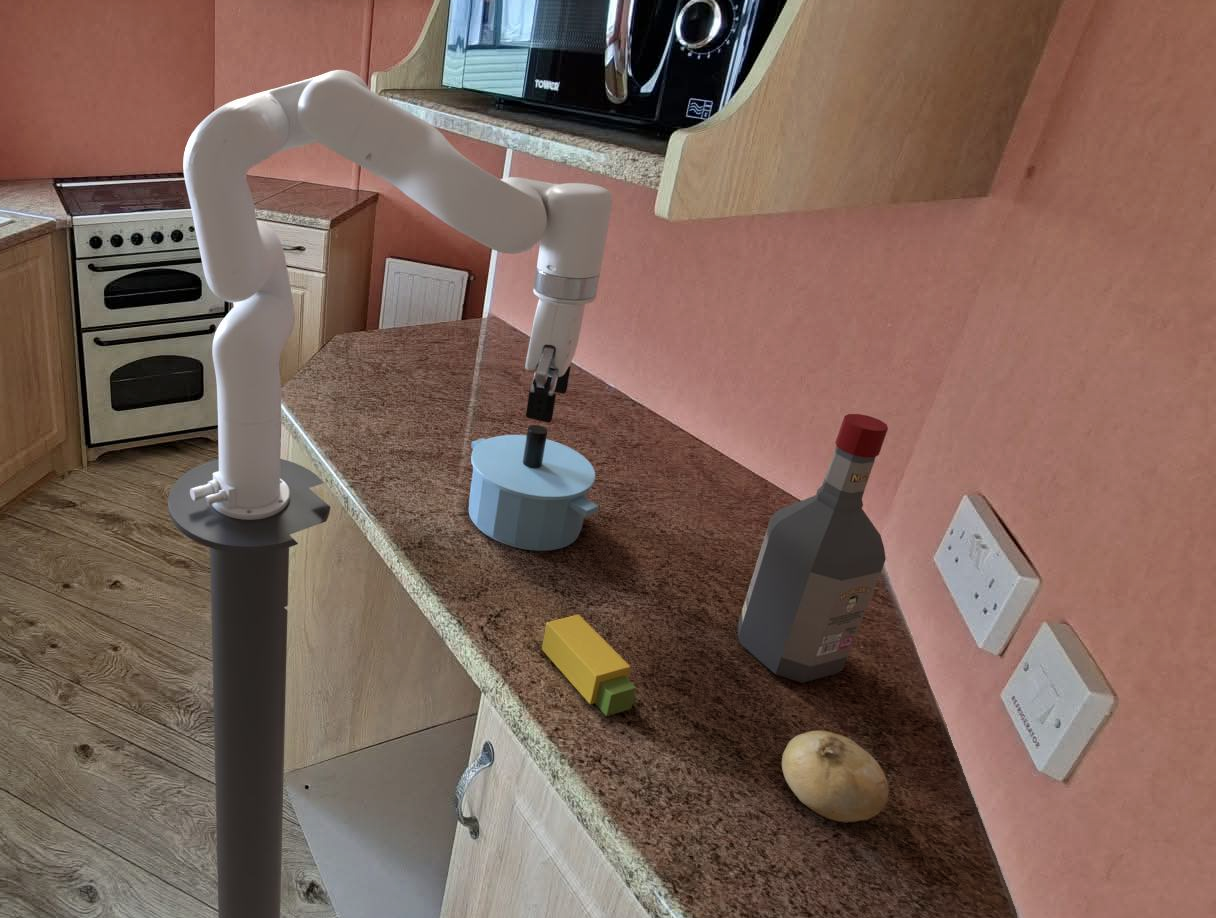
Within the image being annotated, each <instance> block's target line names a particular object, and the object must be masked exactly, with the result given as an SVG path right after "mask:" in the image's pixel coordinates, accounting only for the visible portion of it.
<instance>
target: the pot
mask: <svg viewBox="0 0 1216 918" xmlns="http://www.w3.org/2000/svg"><path fill="white" fill-rule="evenodd" d="M484 440H486V438H484V437H482V438H479V439H476V440H473V441H471V445H470V447H471V448H472V450H473V449H474V448H475V447H476V445H478V444H479V443H480V442H482V441H484ZM589 494H590V490H589V491H587V492H586V493H585V494H583V495H581V496H578V497H575V498H571V499H565V500H537V499H531V498H525V497H521V496H517V495H514V494H511V493H508V492H506V491H503V490H501V489H499V488H497V487H495V486H493V485H491V484H489V483H488V482H487V481H485V480H484V479H483V478H481V477H480V476H479V475H478V474H477V472H476V471H475V469H474V468H473V467H472V475H471V484H470V491H469V498H468V514H469V518H470V520H471V521H472V523H473V524H474V525H475V527H476V528H477V529H478V530H479V531H481V533H483V534H485V535H486V536H488V537H489V538H491V539H492V540H495V541H497V542H499V543H501V544H503V545H506V546H509V547H512V548H516V549H522V550H527V551H534V552H535V551H536V552H537V551H539V552H543V551H544V552H547V551H556V550H559V549H563V548H565V547H567V546H569V545H571V544H573V543H574V542H576V540H577V539H578V538H579V535H580V533H581V531H582V529H583V524H584V519H585V518H588V517H590V516H592V515H594V514H597V513H598V512H599V507H600V506H599V505H598V504H596V503H595V502H593V501H591V500H590V499H589Z"/></svg>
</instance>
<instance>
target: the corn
mask: <svg viewBox="0 0 1216 918" xmlns="http://www.w3.org/2000/svg"><path fill="white" fill-rule="evenodd" d="M541 650H542V652H543V653H544V654H545V655H546V656H547V657H548V658H549V660H550V661H551V662H552V663H553V664H554V665H555V666H556V668H558V670H559V671H560V672H561V673H562V674H563V676H564V677H565V678H566V679H567V680H568V681H569V682H570V683H571V685H572V686H573V688H575V689H576V690H577V692H579V694H580V695H581V696H582V698H584V699H585V700H586V702H587V703H588V705H593V704H595V705H596V706H597V707H598V709H599V710H600V712H602V713H603V714H604V716H605V717H609V716H612V715H616V714H618V713H619V714H620V713H622V712H625V711H626V712H627V711H628V710H631V709H632V707H633V703H634V701H635V695H636V691H637V687H636V686H635V685H634V684H633V683H632V682H631V680H629V674H630V671H631V665H630V664H629V663H628V662H627V661H626V660H624V658H622V656H621V655H620V654H619V653H618V652H617V651H616V650H615V649H613V647H612V646H611V645H610V644H609V642H607V640H605V639H604V638H603V637H602V636H601V635H600V634H599V633H598V632H597V630H595V629H594V628H593V627H592V626H591V625H590V624H589V623H588V622H587V621H586V619H584V618H583V617H582V616H581V615H580V614H579V613H578V614H574V615H571V616H567V617H561V618H559V619H553V620H551V621H547V622H546V623H545V629H544V633H543V638H542V644H541Z"/></svg>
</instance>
